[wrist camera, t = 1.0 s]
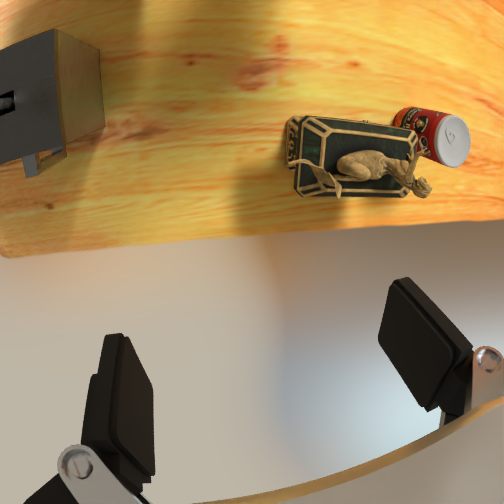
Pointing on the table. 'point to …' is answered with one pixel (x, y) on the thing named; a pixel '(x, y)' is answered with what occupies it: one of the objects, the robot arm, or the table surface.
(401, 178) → the decorative box
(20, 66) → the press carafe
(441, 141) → the canned food
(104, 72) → the table surface
